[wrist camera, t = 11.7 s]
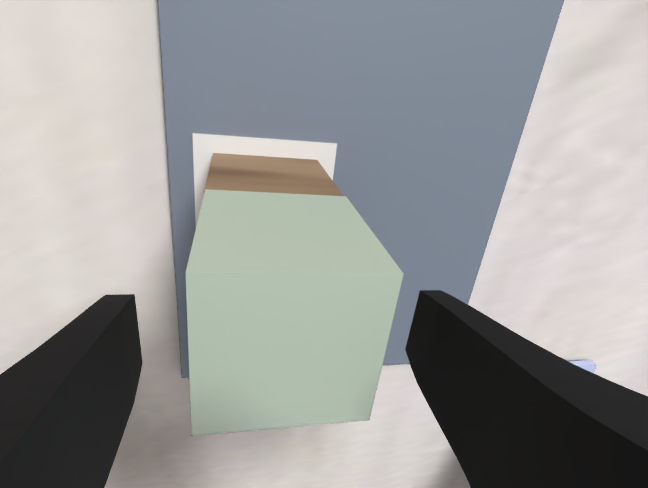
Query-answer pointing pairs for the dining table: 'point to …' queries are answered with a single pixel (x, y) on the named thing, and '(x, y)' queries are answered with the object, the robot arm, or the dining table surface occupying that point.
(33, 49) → the dining table surface
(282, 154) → the grey mat
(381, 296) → the sage block
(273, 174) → the walnut block
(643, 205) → the dining table surface
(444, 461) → the dining table surface
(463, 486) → the dining table surface
